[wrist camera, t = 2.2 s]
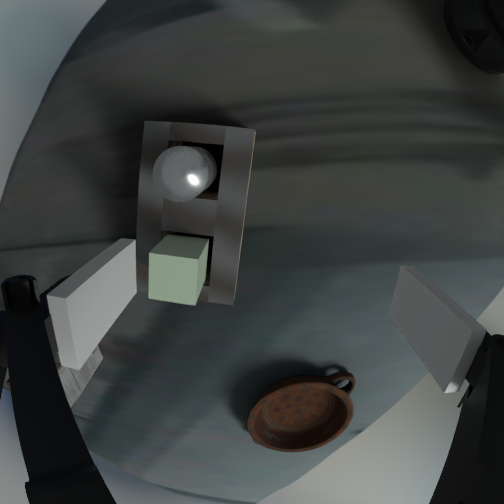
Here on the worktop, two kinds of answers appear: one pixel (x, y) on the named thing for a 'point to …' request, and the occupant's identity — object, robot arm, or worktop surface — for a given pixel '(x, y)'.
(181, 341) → the worktop surface
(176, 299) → the sage peg
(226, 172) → the socket block
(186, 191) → the metal peg
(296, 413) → the dish
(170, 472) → the worktop surface
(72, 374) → the coffee box
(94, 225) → the worktop surface
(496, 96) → the worktop surface
